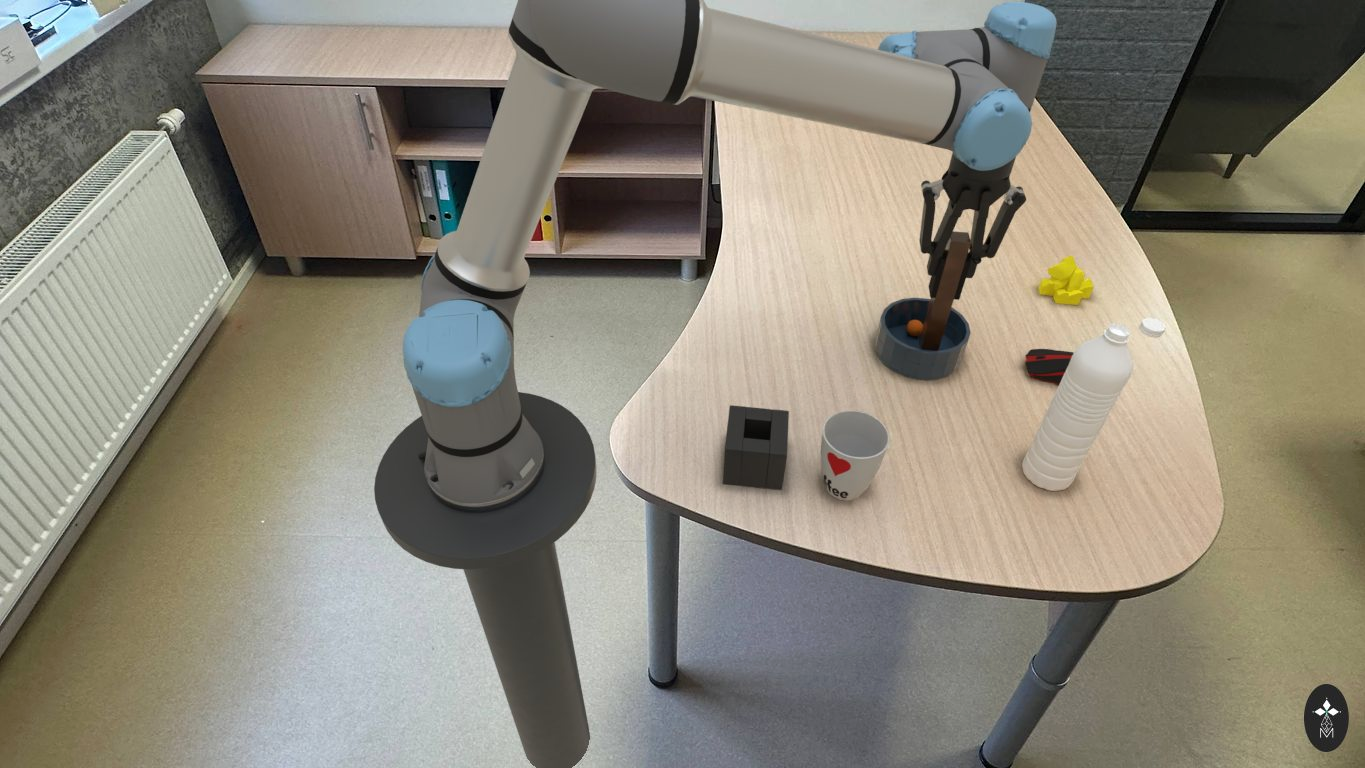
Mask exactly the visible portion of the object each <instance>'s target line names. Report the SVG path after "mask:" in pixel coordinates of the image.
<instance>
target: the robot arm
mask: <svg viewBox="0 0 1365 768" xmlns="http://www.w3.org/2000/svg"><path fill="white" fill-rule="evenodd" d="M1057 24H1058V23H1057V18H1056V16H1055V14H1054V13H1053V12H1052V11H1051V10H1049V9H1048V8H1046V7H1044V6H1042V5H1038V4H1036V3H1031V2H1023V1H1006V2H1003V3H1000V4H996V5H994V6H993V7H992V8H991V9H990V10H989V12H988V14H987V17H986V19H985V21H984V23H983V25H984V26H982V27H981V26H980V27H974V28H968V29H967V28H966V29H947V30H926V31H921V30H920V31H917V30H912V31H909V32H901V33H894V34H893V33H892V34H889V35H887V36H886V37H884V38H883V39H882V41H881V42H880V43H879V45H878V46H877V47H878V48H874V47H869V46H865V45H861V44H857V43H853V42H850V41H849V42H848V41H846V40H845V41H844V40H840V39H836V38H832V37H828V36H824V35H821V34H816V33H812V32H808V31H804V30H800V29H796V28H791V27H788V26H784V25H779V24H776V23H771V22H769V21H768V22H767V21H763V20H759V19H755V18H751V17H748V16H744V15H739V14H736V13H731V12H726V11H722V10H719V9H718V10H717V9H714V8H710V7H708V6H707V3H706V2H705V0H517V2H516V5H515V8H514V11H513V14H512V18H511V21H510V24H509V27H508V32H507V37H508V38H509V41H510V42H511V44H512V46H513V48H514V51H515V58H514V61H513V64H512V67H511V70H510V72H509V75H508V78H507V82H506V85H505V87H504V90H503V93H502V96H501V99H500V103H499V105H498V107H497V111H496V114H495V117H494V120H493V122H492V126H491V128H490V131H489V134H488V137H487V140H486V144H485V146H484V149H483V152H482V155H481V157H480V161H479V164H478V166H477V169H476V172H475V176H474V179H473V181H472V185H471V186H470V187H471V188H470V190H469V194H468V196H467V199H466V202H465V204H464V205H465V206H464V208H463V211H462V214H461V217H460V219H459V223H458V226H457V229H456V230H453V231H450V232H448V233H446V234H445V235H443V236H442V237H441V238H440V240H439V241H438V244H437V247H436V250H435V252H434V254H433V255H432V256H431V258H430V259H429V261H428V263H427V266H426V267H425V269H424V271H423V274H422V279H421V286H420V291H421V293H420V295H421V296H420V303H419V304H420V305H419V312H418V316H416V317H415V318H413V320H412V321H411V322H410V323H409V325H408V327H407V328H406V331H405V333H404V336H403V339H402V355H403V367H404V370H405V372H406V377H407V379H408V380H409V383H410V385H411V387H412V390H413V393H414V397H415V399H416V402H417V405H418V408H419V412H420V414H421V415H420V416H422V418H423V421H424V424H425V427H426V430H427V433H428V436H429V438H428V445H427V451H426V452H423V453H420V454H419V455H418V458H419V459H421V460H422V459H425V464H424V471H425V476H426V479H427V482H428V485H429V487H430V490H431V492H432V493H433V495H434V496H435V497H436V498H437V499H438V500H439V501H440V502H441V503H443V504H444V505H446V506H448V507H450V508H452V509H455V510H458V511H462V512H470V513H482V512H490V511H494V510H498V509H502V508H504V507H507V506H509V505H511V504H513V503H515V502H517V501H519V500H520V499H522V498H523V497H524V496H526V495H527V494H528V493H529V492H530V491H531V490H532V489H533V488H534V487H535V486H536V484H537V483H538V481H539V480H540V478H541V476H542V473H543V470H544V466H545V456H544V450H543V445H542V441H541V439H540V437H539V435H538V434H537V432H536V431H535V430H534V429H533V428H532V427H531V425H530V424H529V422H528V421H527V419H526V418H525V417H524V415H523V414H522V411H521V405H520V400H519V395H518V392H519V390H518V385H517V380H516V379H517V378H516V372H515V342H514V341H515V340H514V339H515V335H514V334H515V333H514V332H515V331H514V326H515V325H514V318H515V315H516V310H517V308H518V305H519V303H520V301H521V298H522V296H523V293H524V291H525V288H526V286H527V283H528V281H529V278H530V274H531V270H530V266H529V263H528V261H527V260H526V259H525V256H526V253H527V251H528V248H529V246H530V245H531V241H532V239H533V237H534V234H535V231H536V229H537V226H538V224H539V223H540V222H539V221H540V220H541V217H542V214H543V212H544V210H545V207H546V205H547V202H548V200H549V198H550V195H551V193H552V190H553V187H554V186H555V183H556V181H557V178H558V176H559V173H560V170H561V168H562V166H563V163H564V161H565V158H566V156H567V154H568V151H569V149H570V147H571V144H572V141H573V140H574V137H575V135H576V131H577V129H578V126H579V124H580V122H581V119H582V117H583V114H584V112H585V110H586V106H587V105H588V103H589V101H590V97H591V95H592V92H593V91H594V90H597V89H599V88H602V89H605V90H608V91H612V92H616V93H619V94H624V95H628V96H632V97H636V98H640V99H644V100H649V101H654V102H658V103H659V102H660V103H664V104H669V105H678V106H679V105H680V104H681V103H683V102H684V101H686V100H687V99H688V98H691V97H694V98H698V99H703V100H707V101H708V100H709V101H713V102H718V103H722V104H727V105H732V106H736V107H737V106H738V107H741V108H747V109H751V110H756V111H761V112H766V113H772V114H776V115H780V116H785V117H791V118H795V119H800V120H804V121H809V122H815V123H819V124H823V125H824V124H825V125H830V126H834V127H838V128H844V129H849V130H853V131H857V132H863V133H868V134H872V135H878V136H882V137H887V138H891V139H898V140H903V141H907V142H911V143H916V144H922V145H926V146H930V147H935V148H938V149H943V150H948V151H950V152H952V153H951V157H950V162H949V165H948V168H947V169H946V171H945V172H944V173H943V175H942V176H941V179H938V180H935V181H932V182H930V181H929V180H923V181H922V182H921V185H920V187H921V193H922V197H923V204H922V205H923V206H922V214H921V223H920V231H919V247H920V252H921V253H922V254H923V255H925V254H929V256H928V260H927V264H926V271H927V275H928V276H930V280H929V283H928V292H929V297H930V298H929V299H931V298H936V295H937V292H938V288H939V285H940V281H941V277H942V274H943V270H944V267H945V263H946V257H945V252H944V250H945V248H946V246H947V243H948V241H949V239H950V237H951V234H952V232H953V231H954V230H955V227H956V225H957V223H958V221H959V218H961V217H962V216H963V215H962V214H963V212H964V211H966V210H972V211H973V218H972V225H971V231H970V241H971V244H970V248H969V251H968V254H967V258H966V261H965V264H964V267H963V271H962V274H961V277H960V281H959V284H958V287H957V290H956V294H955V297H954V301H955V300H957V301H960V299H961V295H962V292H963V288H964V285H965V283H966V279H973V277H974V276H975V273H976V270H977V268H978V265H979V264H981V263H982V261H983V260H982V259H983V258H988V259H993V258H994V257H996V254H997V253H998V250H999V249H1000V246H1001V245H1002V242H1003V240H1004V238H1005V235H1006V233H1007V232H1008V230H1009V228H1010V225H1011V223H1012V220H1013V219H1014V217H1015V214H1016V213H1017V211H1018V210H1019V209H1021V207H1022V206H1023V205H1024V204H1025V203H1026V201H1027V197H1026V194H1025V191H1024V188H1023V187H1022V186H1014V185H1012V184H1011V180H1010V176H1011V173H1012V171H1013V167H1014V164H1015V161H1016V158H1017V156H1018V155H1019V154H1020V153H1021V152H1022V151H1023V148H1024V147H1025V146H1026V145H1027V142H1028V140H1029V138H1030V136H1031V132H1032V128H1033V121H1032V120H1033V119H1032V115H1031V111H1032V107H1033V105H1034V102H1035V99H1036V96H1037V93H1038V89H1039V86H1040V84H1041V81H1042V77H1043V75H1044V73H1045V72H1044V71H1045V69H1046V65H1047V63H1048V60H1049V59H1050V57H1051V50H1052V47H1053V43H1054V40H1055V36H1056V35H1055V34H1056V29H1057ZM943 190H944V192H945V194H946V196H947V198H948V199H949V200H948V202H947V203H948V204H947V207H946V210H945V212H944V215H943V217H942V219H941V221H940V224H939V227H937V228H938V229H937V230H936V233H935V236H934V238H933V240H932V237H933V231H934V222H935V214H936V201H937V200H938V199H939V198H940V196H941V192H942V191H943ZM1002 197H1003V201H1002V203H1001V205H1000V207H999V210H998V212H997V214H996V216H995V218H994V220H993V223H992V225H991V227H990V230H989V232H988V235H987V236H986V238H985V232H986V226H987V220H988V218H989V213H990V207H991V206H992V205H994V203H996V202H997V201H999V199H1001V198H1002ZM984 239H985V241H984Z"/></svg>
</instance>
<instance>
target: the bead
mask: <svg viewBox="0 0 1365 768" xmlns="http://www.w3.org/2000/svg"><path fill="white" fill-rule="evenodd" d="M922 328H923V324H922V323H921V322H920V321H919V320H911V321H910V322H909V323H908V324H907V326H906V330H907V332H908V334H910V335H911V336H918V335H920V334H921V331H922Z"/></svg>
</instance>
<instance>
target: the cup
mask: <svg viewBox="0 0 1365 768" xmlns="http://www.w3.org/2000/svg"><path fill="white" fill-rule="evenodd" d="M821 432H822V433H821V442H820V443H821V444H820V454H819V455H820V468H821V469H820V473H821V477H822V480H823V484H824V488H825V490H826V492H827V493H828V494H829V495H830V496H831V497H832V498H835V499H837V500H839V501H840V500H841V501H846V502H847V501H854V500H856V499H858V498H860V497H861V495H862V494H863V493H864V492H865V491H866V490H867V489H868V488H869V486H870V485H871V483H872V482H873V480H874V479H875V477H876V475H877V474H878V471H879V469H880V468H881V466H882V463H883V460H884V458H885V455H886V452H887V450H888V447H889V444H890V437H891V436H890V433H889V431H888V428H887V426H886V425H885V424H884V423H883V422H882V420H880V419H879V418H878V417H876V416H874V415H872V414H870V413H868V412H864V411H861V410H853V409H852V410H851V409H847V410H846V409H845V410H841V411H840V410H839V411H837V412H835V413H833V414H831V415H830V416H829V417H827V418H826V420H825V422H824V424H823V426H822V431H821Z"/></svg>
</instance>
